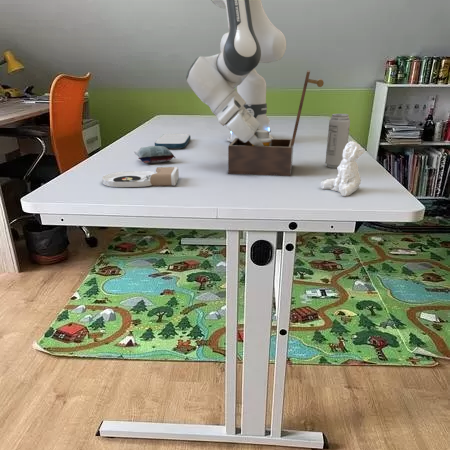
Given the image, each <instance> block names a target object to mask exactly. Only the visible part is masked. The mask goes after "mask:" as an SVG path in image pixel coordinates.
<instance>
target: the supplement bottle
mask: <svg viewBox="0 0 450 450" xmlns="http://www.w3.org/2000/svg"><path fill="white" fill-rule="evenodd" d="M269 134H270V133H269V131H268V130H257V131H256V132H255V136H256V137H257V138H258V139H259V140H260V142H262V143H263V144H264V146H271V142H272V140H271V138H269ZM252 146H254V145H253V144H252Z"/></svg>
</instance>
